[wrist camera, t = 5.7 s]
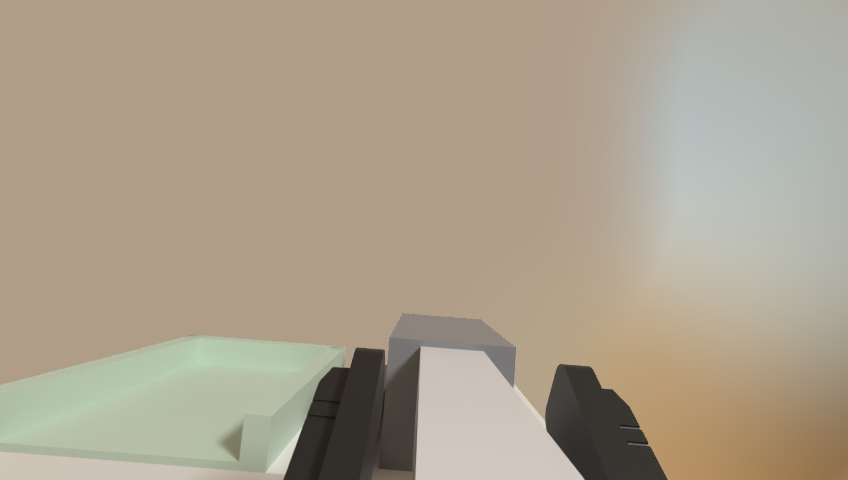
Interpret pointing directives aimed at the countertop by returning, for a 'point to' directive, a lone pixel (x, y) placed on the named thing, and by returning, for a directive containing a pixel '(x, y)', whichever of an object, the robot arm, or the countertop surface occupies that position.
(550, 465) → the light grey rectangular prism
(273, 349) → the cabinet
